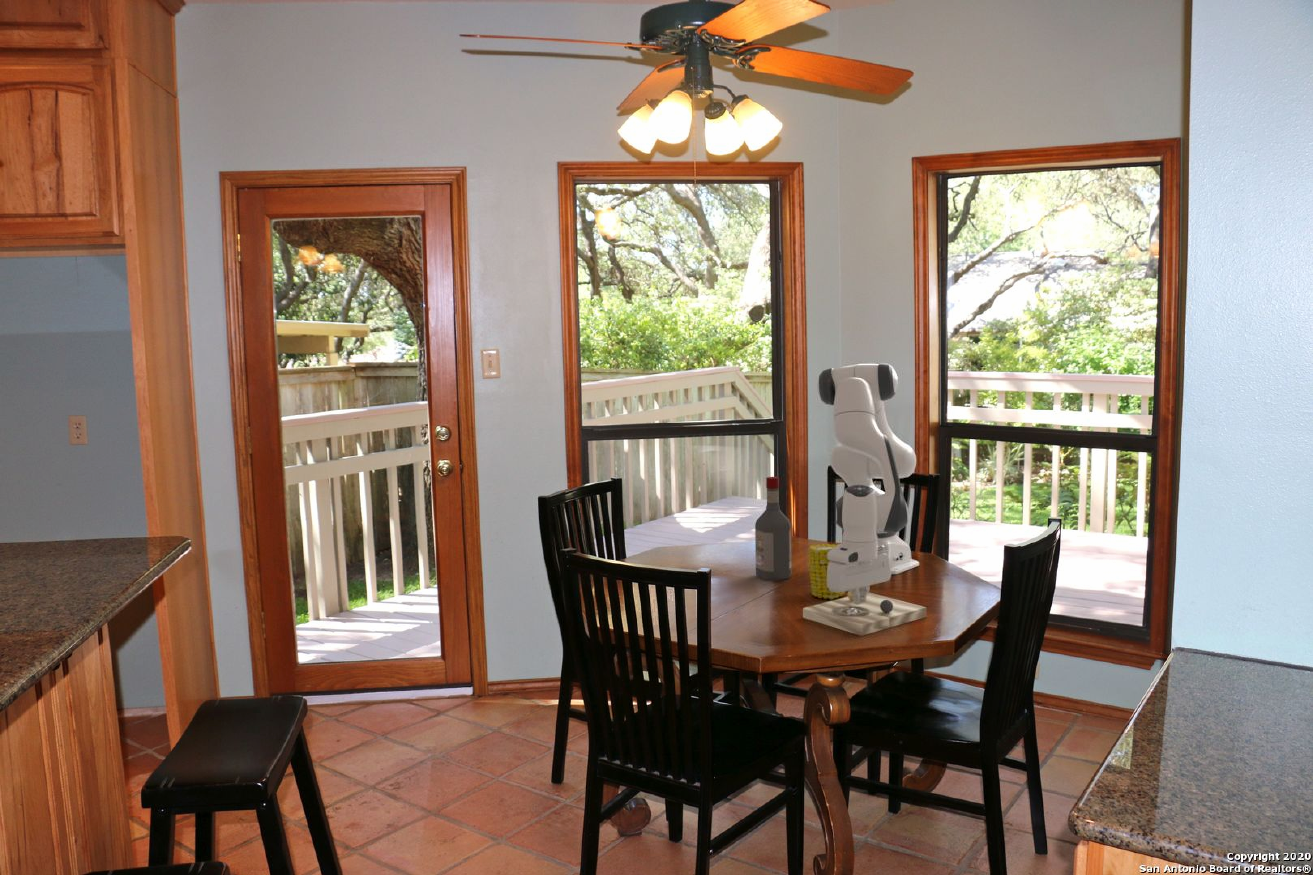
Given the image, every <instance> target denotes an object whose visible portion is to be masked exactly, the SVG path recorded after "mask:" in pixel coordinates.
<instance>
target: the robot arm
mask: <svg viewBox="0 0 1313 875" xmlns="http://www.w3.org/2000/svg"><path fill="white" fill-rule="evenodd" d="M898 379H899V378H898V376H897V373H896V371H895V369H894V366H892V365H891V364H889V363H886V362H885V363H884V362H879V363H878V364H877V363H859V364H853V365H852V364H851V365H847V366H841V367H837V368H834V367H831V368H827V369H825V370H822V372H821V373H819V375H818V380H817V392H818V396H819V397H820V400H821V402H822V403H823V404H825V405H829V406H833V412H832V414H833V430H834V436H835V438H836V440H837V441H838V442H839V443H837V444H836V445H835V446H834V447H833V449H832V450H831V453H830V465H831V468H832V470H833V472H834V473H835V474H836V475H838V476H839V477H840V478H842V480H843V481H844V482H845V483H846V485H847V486H848V487H846V488H845V489H844V491H843V492H844V493H843V495H842V496H841V497H840V498H838V499H837V501H836V502H835V503H834V504H835V509H836V513H835V515H836V518H835V522H834V523H835V524H836V525H837V526H838V527H839V528H840V529H841V530H842V531H843V533H842V537H841V542H840V543H839V544H837V545H838V546H836V547H835V548H834V549H832V550H831V551H829V552H828V554H827V557H828V560H831V561H830V562H829V564H828V567H827V587H828V589H829V590H830V591H832V592H836V593H841V592H845V591H846V592H848V591H849V590H850V592H851V594H852V596H853V603H854V604H856V605H859V604H863V603H866V596H867V594H868V592H869V593H870V590H871V589H870V587H871V586H873V585H877V584H881V583H884V582H889V581H890V579H891V577H892V575H899V574H900V573H901V574H902V573H903V572H905V571H908V570H911V569H913V568H916V567H919V566H920V562H919V561H918V560H916V559H912V551H911V547H910V546H909V544H908V543H906V541H904V540H903V539H901V538H900V537H899V535H897V533H898V532H900V531H901V530H903V529H904V528H905V527H906V526H907V525H908V520H909V508H908V504H907V502H906V500H905V496H904V492H903V490H902V489H903V488H902V485H901V482H900V481H901V480H900V479H904V478H909V477H910V476H911V475H912V474H913V473H914V471H915V469H916V468H917V467H916V466H917V456H916V453H915V451H914V449H913V448H912V447H911V446H910V445H909V444H907V443H905V442H904V441H902V440H901V439H899V437H898V436H896V435H895V434H894V432H893V431H892V429H891V427H890V426H889V424H888V423H889V422H888V419H887V415H886V410H885V409H886V408H885V403H884V402H885V401H888V400H891V399H893V397H895V395H896V392H897V390H898V385H899V380H898ZM873 479H881V480H882V482H883V486H884V490H885V491H883V490H881V489H879V488H878V487H877V486H876V485H875V484H874V481H873ZM846 592H845V593H846ZM858 592H859V593H860V595H859V593H858Z"/></svg>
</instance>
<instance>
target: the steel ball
mask: <svg viewBox="0 0 1313 875" xmlns="http://www.w3.org/2000/svg"><path fill="white" fill-rule="evenodd" d="M857 613H859V612H858V611H857V610H856V609H854V608H850V609H848V610H847V612H846V614H857Z"/></svg>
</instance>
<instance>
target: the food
mask: <svg viewBox="0 0 1313 875" xmlns="http://www.w3.org/2000/svg"><path fill="white" fill-rule="evenodd" d="M838 545H839V544H837V545H836V544H833V543H832V544H830V543H826V544H824V543H822V544H818V543H817V544H816V545H809V547H808V563H809V576H810V577H809V579H810V588H811V593H812V596H813V597H816V598H819V599H822V598H823V599H825V600H827V599H829V600H830V601H833V600H835V599H839V597H843V595H845V594H846V592H847V591H845V592H841V593H836V592H832V591H830V590H829V589H828V587H827V567H828V564H829V562H830V561H831V560H828V557H827V554H828V552H829V551H831V550H832V549H834V548H835V547H836V546H838Z"/></svg>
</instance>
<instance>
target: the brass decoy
mask: <svg viewBox="0 0 1313 875" xmlns="http://www.w3.org/2000/svg"><path fill="white" fill-rule="evenodd" d="M858 593H859V595H860V592H858ZM846 594H847V596H846V597H848V598H849V599H850V600H852V601H853V596H852V594H851V592H850V590H849V591H847V593H846Z"/></svg>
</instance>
